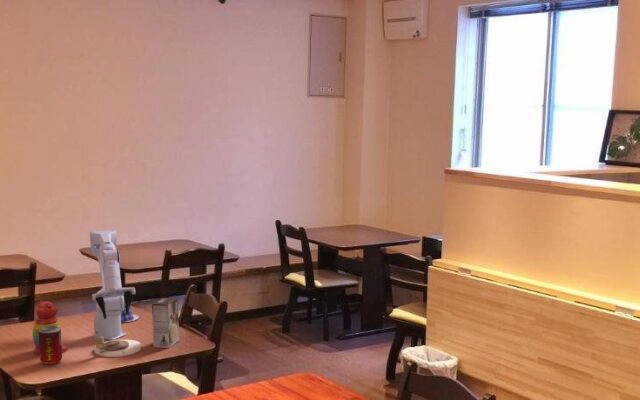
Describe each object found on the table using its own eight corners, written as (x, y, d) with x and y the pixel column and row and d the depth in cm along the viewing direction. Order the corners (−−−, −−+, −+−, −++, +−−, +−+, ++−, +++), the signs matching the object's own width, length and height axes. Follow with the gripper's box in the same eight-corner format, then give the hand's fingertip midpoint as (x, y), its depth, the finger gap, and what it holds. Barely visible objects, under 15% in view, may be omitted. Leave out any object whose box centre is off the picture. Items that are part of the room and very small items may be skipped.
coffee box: (163, 339, 282) (162, 297, 280) (179, 340, 281) (178, 297, 279) (152, 347, 273) (151, 303, 271) (169, 348, 272) (168, 304, 270)
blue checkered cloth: (125, 314, 317) (124, 301, 317) (145, 318, 310) (144, 306, 310) (101, 321, 308) (101, 308, 307) (121, 325, 301) (121, 312, 300)
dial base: (84, 353, 266) (84, 350, 266) (113, 340, 281) (113, 337, 281) (122, 359, 260) (122, 355, 260) (150, 345, 275) (150, 342, 275)
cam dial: (116, 340, 276) (115, 327, 275) (134, 345, 271) (133, 331, 270) (88, 350, 265) (87, 336, 264) (106, 355, 260) (105, 340, 260)
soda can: (60, 358, 262) (58, 323, 260) (64, 364, 255) (62, 329, 254) (38, 361, 258) (36, 326, 257) (41, 368, 252) (39, 332, 250)
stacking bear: (69, 351, 269) (67, 301, 267) (41, 357, 262) (39, 307, 260) (55, 344, 277) (53, 296, 275) (28, 350, 270) (25, 301, 268)
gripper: (89, 279, 267) (92, 315, 261) (131, 272, 270) (136, 307, 263) (93, 287, 273) (96, 322, 267) (134, 280, 276) (138, 315, 269)
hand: (116, 315), depth 265 cm, fingers open, 7 cm apart
